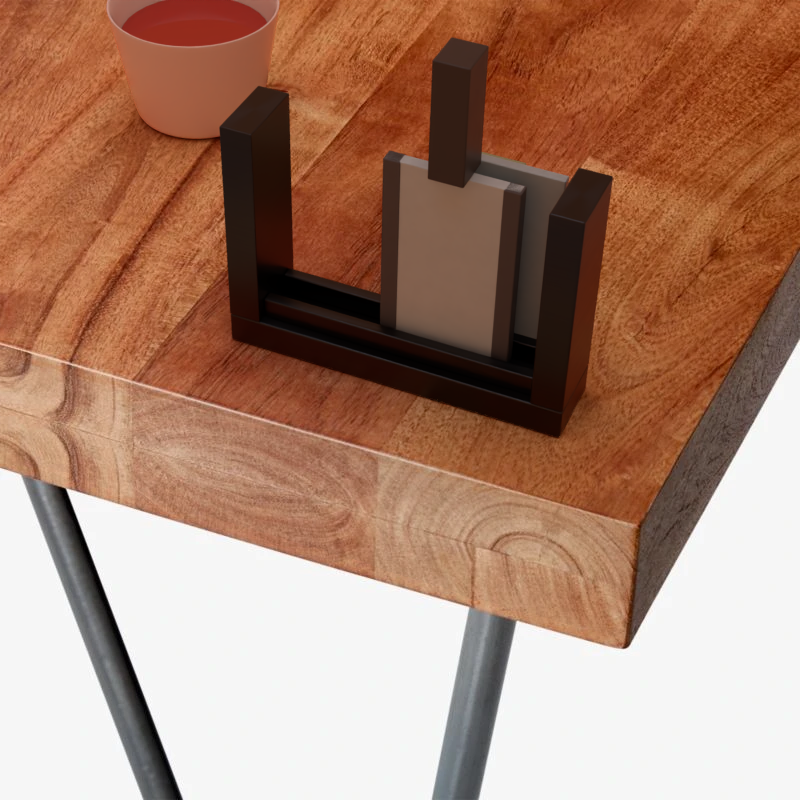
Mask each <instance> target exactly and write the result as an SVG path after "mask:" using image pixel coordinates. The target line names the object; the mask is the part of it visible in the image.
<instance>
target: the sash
mask: <svg viewBox="0 0 800 800" xmlns="http://www.w3.org/2000/svg"><path fill="white" fill-rule="evenodd" d="M489 47H490V46H489V45H487V44H482V43H478V42H474V41H470V40H465V39H461V38H457V37H453V36H452V37H450V38H449V39H448V41H447V42H446V43H445V44H444V45H443V46H442V48H441V49H440V50H439V52H438V53H437V54H436V56H435V57H434V58H433V59H432V60H431V61H432V62H431V65H432V66H431V86H430V87H431V88H430V112H429V136H428V155H427V156H428V158H427V159H428V160H426V159H423V158H418V157H415V156H410V155H407V154H406V153H402V152H398V151H394V150H388V151H387V152H386V154H385V155H384V156H383V158H382V187H381V188H382V189H381V190H382V191H381V192H382V193H381V195H382V196H381V204H382V205H381V242H380V245H381V246H380V247H381V249H380V293H379V294H380V325H383V326H386V327H390V328H393V329H396V330H400V331H403V332H407V333H410V334H413V335H417V336H420V337H424V338H427V339H430V340H434V341H437V342H441V343H444V344H447V345H451V346H454V347H458V348H461V349H465V350H468V351H471V352H475V353H478V354H482V355H485V356H488V357H492V358H495V359H499V360H502V361H505V362H510V360H511V358H512V348H513V337H514V326H515V315H516V304H517V293H518V281H519V270H520V259H521V248H522V237H523V226H524V215H525V203H526V192H527V187H526V186H524V185H520V184H516V183H512V182H507V181H503V180H499V179H495V178H492V177H488V176H484V175H480V174H476V173H475V171H476V170H477V168H478V167H479V166H480V164H481V156H482V152H483V140H484V139H483V138H484V123H485V111H486V110H485V109H486V96H487V95H486V93H487V80H488V65H489V51H490V48H489Z"/></svg>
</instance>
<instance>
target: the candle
mask: <svg viewBox="0 0 800 800" xmlns="http://www.w3.org/2000/svg"><path fill="white" fill-rule="evenodd" d="M280 4H281V3H280V0H106V15H107V19H108V22H109V25H110V29H111V32H112V35H113V39H114V41H115V45H116V48H117V51H118V54H119V57H120V62H121V65H122V67H123V70H124V75H125V77H126V81H127V84H128V87H129V91H130V94H131V96H132V100H133V102H134V106H135V108H136V110H137V113H138V115H139V116H140V118H141V119H142V121H144V123H145V124H146V125H148V126H149V127H150V128H152V129H154V130H156V131H158V132H159V133H162V134H164V135H167V136H171V137H175V138H182V139H194V140H198V139H199V140H201V139H202V140H203V139H210V138H211V139H212V138H218V137H219V138H220V130H219V127H220V125H221V124H222V123H223V122H224V121H225V120H226V119H227V118H228V117H229V116H230V115H231V114H232V113H233V112H234V111H235V110H236V109H237V108H238V107H239V105H240V104H241V103H242V102H243V101H244V100H245V99H246V98H247V97H248V96H249V95H250V94H251V93H252V92H253V91H254V90H255V89H256V88H257V86H262V87H266V88H267V85H268V80H269V75H270V74H269V73H270V69H271V63H272V57H273V56H272V55H273V50H274V43H275V39H276V31H277V26H278V18H279V12H280Z"/></svg>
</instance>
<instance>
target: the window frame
mask: <svg viewBox="0 0 800 800" xmlns="http://www.w3.org/2000/svg"><path fill="white" fill-rule="evenodd" d="M290 114H291V113H290V93H288V92H285V91H281V90H277V89H273V88H270V87H267V86H266V87H262V86H257V88H256V89H255V90H254V91H253V92H252V93H251V94H250V95H249V96H248V97H247V98H246V99H245V100H244V101H243V102H242V103H241V104H240V105H239V107H238V108H237V109H236V110H235V111H234V112H233V113H232V114H231V115H230V116H229V117H228V118H227V119H226V120H225V121H224V122H223V123H222V124H221V125H220V127H219V130H220V136H219V145H220V147H219V148H220V162H221V164H220V165H221V180H222V181H221V182H222V195H223V196H222V197H223V212H224V213H223V214H224V230H225V246H226V249H225V250H226V264H227V281H228V283H227V284H228V294H229V295H228V299H229V313H230V327H231V338H232V339H233V340H236V341H239V342H242V343H246V344H249V345H252V346H255V347H259V348H261V349H262V348H263V349H265V350H269V351H271V352H275V353H279V354H282V355H284V356H288V357H292V358H295V359H298V360H301V361H303V362H307V363H311V364H315V365H318V366H321V367H324V368H328V369H331V370H334V371H337V372H340V373H344V374H348V375H351V376H355V377H358V378H360V379H364V380H367V381H370V382H373V383H376V384H380V385H384V386H387V387H391V388H392V389H393V388H394V389H397V390H400V391H403V392H407V393H409V394H410V393H411V394H413V395H416V396H420V397H423V398H426V399H429V400H433V401H435V402H439V403H442V404H446V405H449V406H452V407H456V408H459V409H462V410H465V411H469V412H472V413H476V414H478V415H482V416H485V417H489V418H492V419H495V420H499V421H502V422H505V423H508V424H509V423H510V424H512V425H515V426H518V427H521V428H524V429H528V430H531V431H534V432H538V433H541V434H544V435H547V436H551V437H554V438H560V437H561V436H562V434H563V432H564V430H565V428H566V426H567V424H568V423H569V420H570V418H571V417H572V414H573V413H574V411H575V409H576V407H577V405H578V403H579V401H580V400H581V398H582V396H583V394H584V392H585V390H586V386H587V379H588V371H589V363H590V356H591V349H592V341H593V335H594V333H593V332H594V327H595V318H596V311H597V304H598V296H599V289H600V288H599V287H600V280H601V273H602V264H603V258H604V249H605V242H606V235H607V226H608V220H609V212H610V205H611V195H612V187H613V182H614V181H613V180H614V176H613V175H610V174H607V173H602V172H598V171H595V170H590V169H588V168H587V169H586V168H582V167H578V168H577V170H576V171H575V173H574V174H573V175H572V177H571V179H570V176H569V175H567V174H562V173H559V172H555V171H551V170H547V169H543V168H540V167H535V166H532V165H528V164H527V165H524V164H520V163H516V162H512V161H508V160H504V159H501V158H497V157H493V156H489V155H485V154H482V156H481V164H480V166H479V167H478V168H477V170H476V171H475V173H476V174H480V175H484V176H488V177H492V178H495V179H499V180H503V181H507V182H512V183H516V184H520V185H524V186H526V187H527V192H526V203H525V215H524V226H523V237H522V248H521V259H520V270H519V281H518V293H517V304H516V315H515V326H514V337H513V348H512V358H511V360H510V362H505V361H502V360H499V359H495V358H492V357H488V356H485V355H482V354H478V353H475V352H471V351H468V350H465V349H461V348H458V347H454V346H451V345H447V344H444V343H441V342H437V341H434V340H430V339H427V338H424V337H420V336H417V335H413V334H410V333H407V332H403V331H400V330H396V329H393V328H390V327H386V326H383V325H380V293H378V292H375V291H371V290H369V289H368V290H367V289H365V288H361V287H357V286H353V285H350V284H348V283H347V284H346V283H343V282H340V281H336V280H333V279H330V278H326V277H322V276H319V275H316V274H313V273H308V272H305V271H301V270H299V269H295V268H294V235H293V234H294V232H293V199H292V198H293V195H292V193H293V191H292V189H293V188H292V159H291V157H292V156H291V155H292V153H291V152H292V151H291V119H290V118H291V115H290Z"/></svg>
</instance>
